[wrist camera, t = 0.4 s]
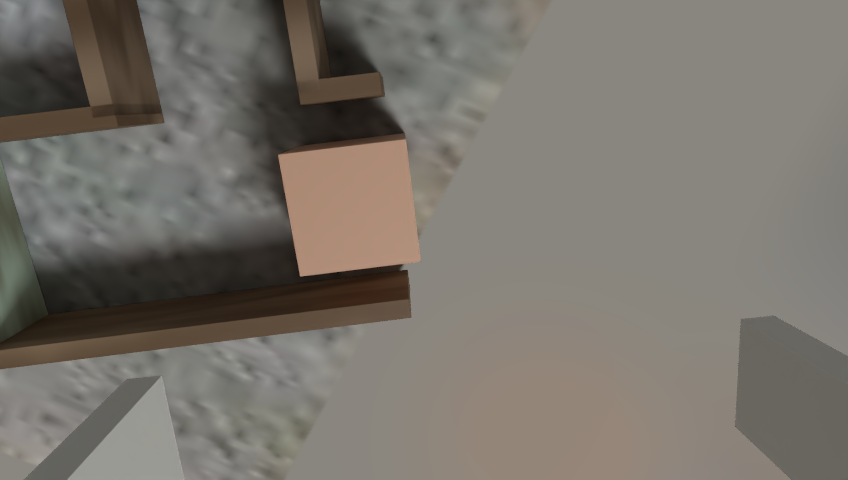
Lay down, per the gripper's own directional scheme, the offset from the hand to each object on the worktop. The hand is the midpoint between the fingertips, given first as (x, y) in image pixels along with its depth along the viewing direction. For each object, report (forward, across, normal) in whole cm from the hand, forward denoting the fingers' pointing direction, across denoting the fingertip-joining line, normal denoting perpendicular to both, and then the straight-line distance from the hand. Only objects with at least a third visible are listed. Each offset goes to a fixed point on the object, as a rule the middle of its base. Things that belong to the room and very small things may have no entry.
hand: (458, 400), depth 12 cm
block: (+26, -4, +2) cm, 26 cm away
